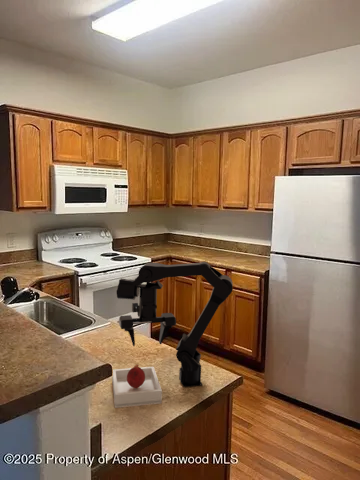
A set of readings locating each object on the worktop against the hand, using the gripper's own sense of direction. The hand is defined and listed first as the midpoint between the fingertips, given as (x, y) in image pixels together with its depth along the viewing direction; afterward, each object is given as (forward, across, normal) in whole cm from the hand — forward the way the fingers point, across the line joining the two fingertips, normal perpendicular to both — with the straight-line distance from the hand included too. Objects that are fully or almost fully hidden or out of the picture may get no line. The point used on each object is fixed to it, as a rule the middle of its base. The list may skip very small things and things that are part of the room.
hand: (147, 344), depth 125 cm
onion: (+11, +5, +8) cm, 15 cm away
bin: (+12, +5, +8) cm, 15 cm away
